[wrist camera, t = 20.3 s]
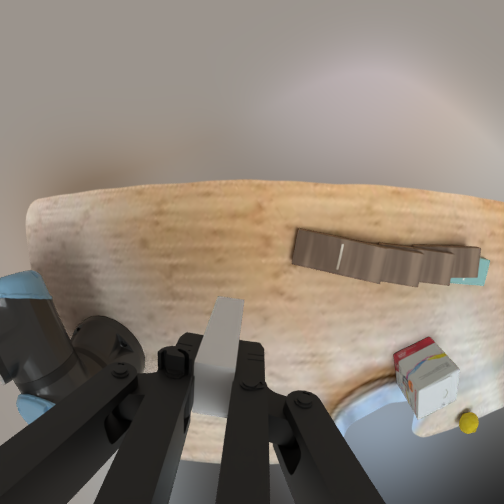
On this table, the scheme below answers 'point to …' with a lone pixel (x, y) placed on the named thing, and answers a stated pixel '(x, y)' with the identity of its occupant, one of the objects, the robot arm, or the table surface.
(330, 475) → the robot arm
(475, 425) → the fruit
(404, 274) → the domino
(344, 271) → the domino
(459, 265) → the domino
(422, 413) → the ink box
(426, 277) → the domino
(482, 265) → the domino
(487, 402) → the table surface
